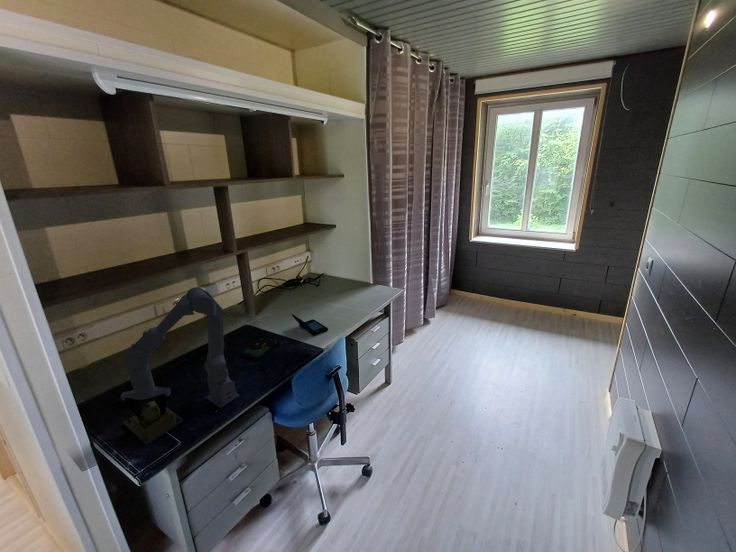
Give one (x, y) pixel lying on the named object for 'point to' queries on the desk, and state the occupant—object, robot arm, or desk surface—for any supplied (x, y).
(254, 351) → the disk drive
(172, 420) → the mounting bracket
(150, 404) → the switch lever
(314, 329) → the black handheld device
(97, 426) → the desk surface
